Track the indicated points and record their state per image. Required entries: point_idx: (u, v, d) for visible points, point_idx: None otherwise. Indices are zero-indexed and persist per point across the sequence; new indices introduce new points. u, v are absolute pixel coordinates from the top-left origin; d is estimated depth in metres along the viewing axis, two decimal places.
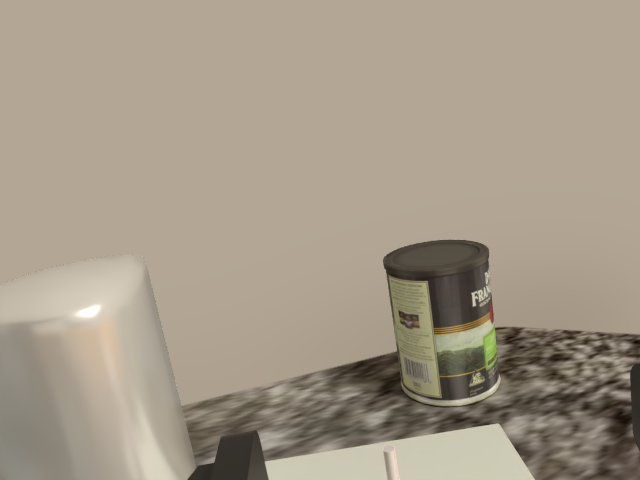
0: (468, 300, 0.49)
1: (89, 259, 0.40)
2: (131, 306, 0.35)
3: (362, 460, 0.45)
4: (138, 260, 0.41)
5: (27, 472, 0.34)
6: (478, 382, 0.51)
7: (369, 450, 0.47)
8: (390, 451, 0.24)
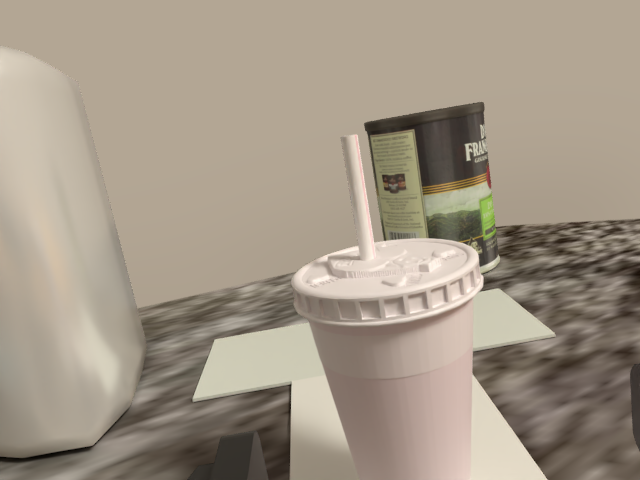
0: (462, 152, 0.43)
1: None
2: (42, 84, 0.28)
3: None
4: None
5: None
6: None
7: None
8: (350, 135, 0.17)
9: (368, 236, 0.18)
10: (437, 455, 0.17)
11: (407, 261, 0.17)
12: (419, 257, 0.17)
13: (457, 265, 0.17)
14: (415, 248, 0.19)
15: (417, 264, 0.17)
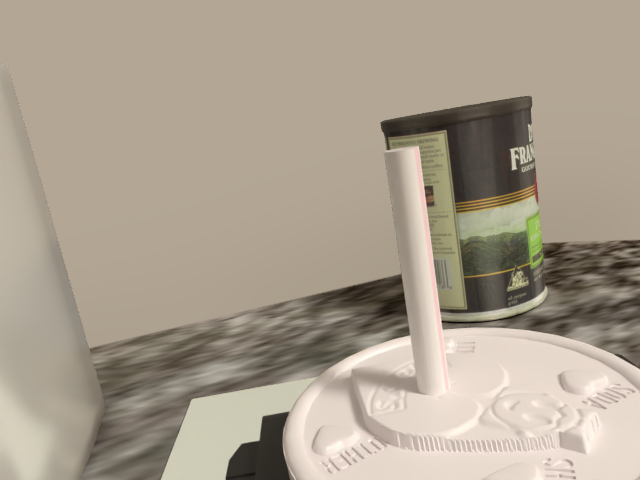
0: (506, 159, 0.34)
1: None
2: None
3: None
4: None
5: None
6: (519, 286, 0.35)
7: None
8: (406, 149, 0.08)
9: (437, 349, 0.09)
10: None
11: (525, 414, 0.08)
12: (547, 402, 0.08)
13: None
14: (515, 356, 0.10)
15: (554, 429, 0.08)
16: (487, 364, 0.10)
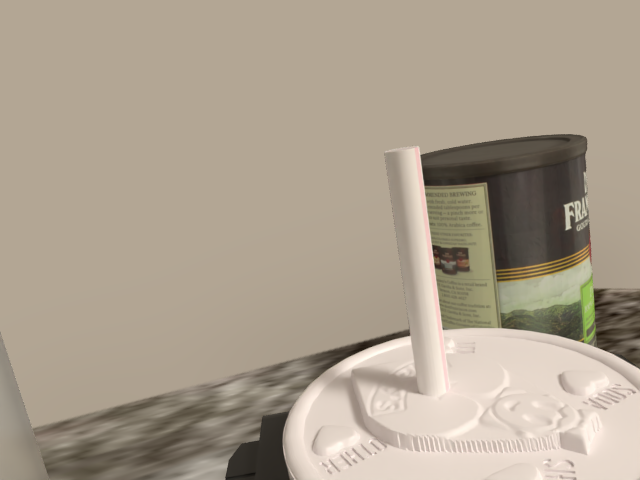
0: (559, 217, 0.27)
1: None
2: None
3: None
4: None
5: None
6: None
7: None
8: (406, 149, 0.08)
9: (437, 350, 0.09)
10: None
11: (525, 414, 0.08)
12: (548, 402, 0.08)
13: None
14: (515, 357, 0.10)
15: (554, 430, 0.08)
16: (487, 364, 0.10)
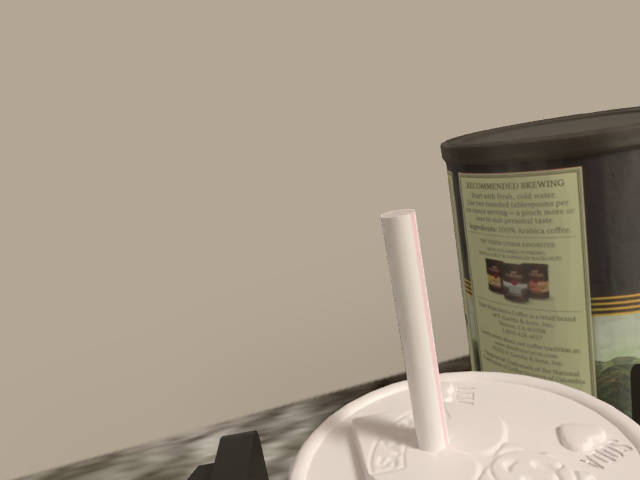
0: None
1: None
2: None
3: None
4: None
5: None
6: None
7: None
8: (402, 215, 0.08)
9: (435, 407, 0.09)
10: None
11: (523, 475, 0.08)
12: (545, 462, 0.08)
13: None
14: (514, 405, 0.10)
15: None
16: (486, 416, 0.10)
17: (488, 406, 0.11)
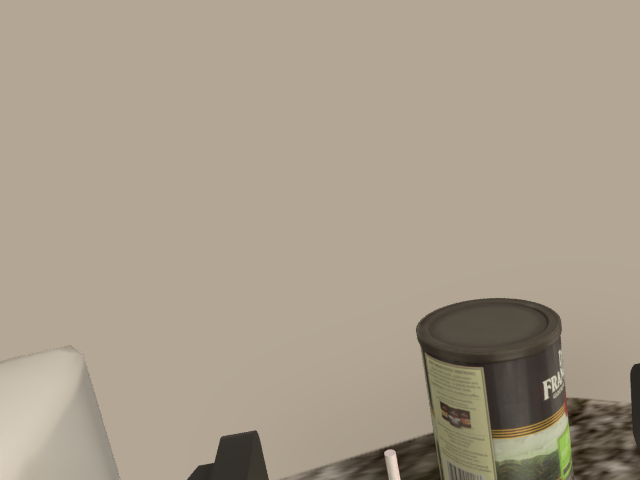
0: (539, 391, 0.36)
1: None
2: (36, 469, 0.21)
3: None
4: (69, 365, 0.28)
5: None
6: None
7: None
8: (391, 455, 0.26)
9: None
10: None
11: None
12: None
13: None
14: None
15: None
16: None
17: None
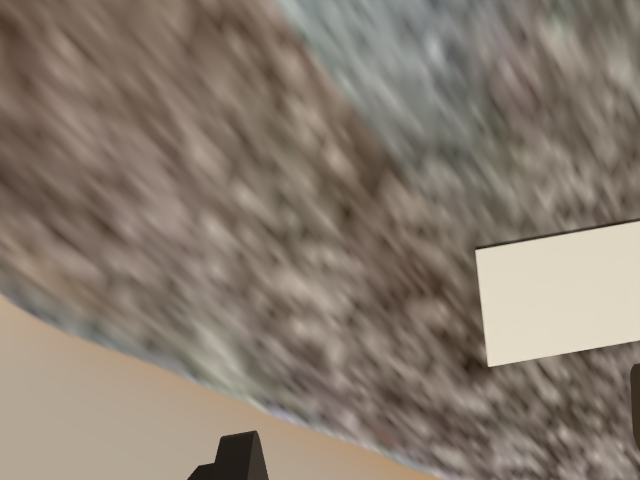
0: None
1: None
2: None
3: None
4: None
5: None
6: None
7: None
8: None
9: None
10: None
11: None
12: None
13: None
14: None
15: None
16: None
17: None
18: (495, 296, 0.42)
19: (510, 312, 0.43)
